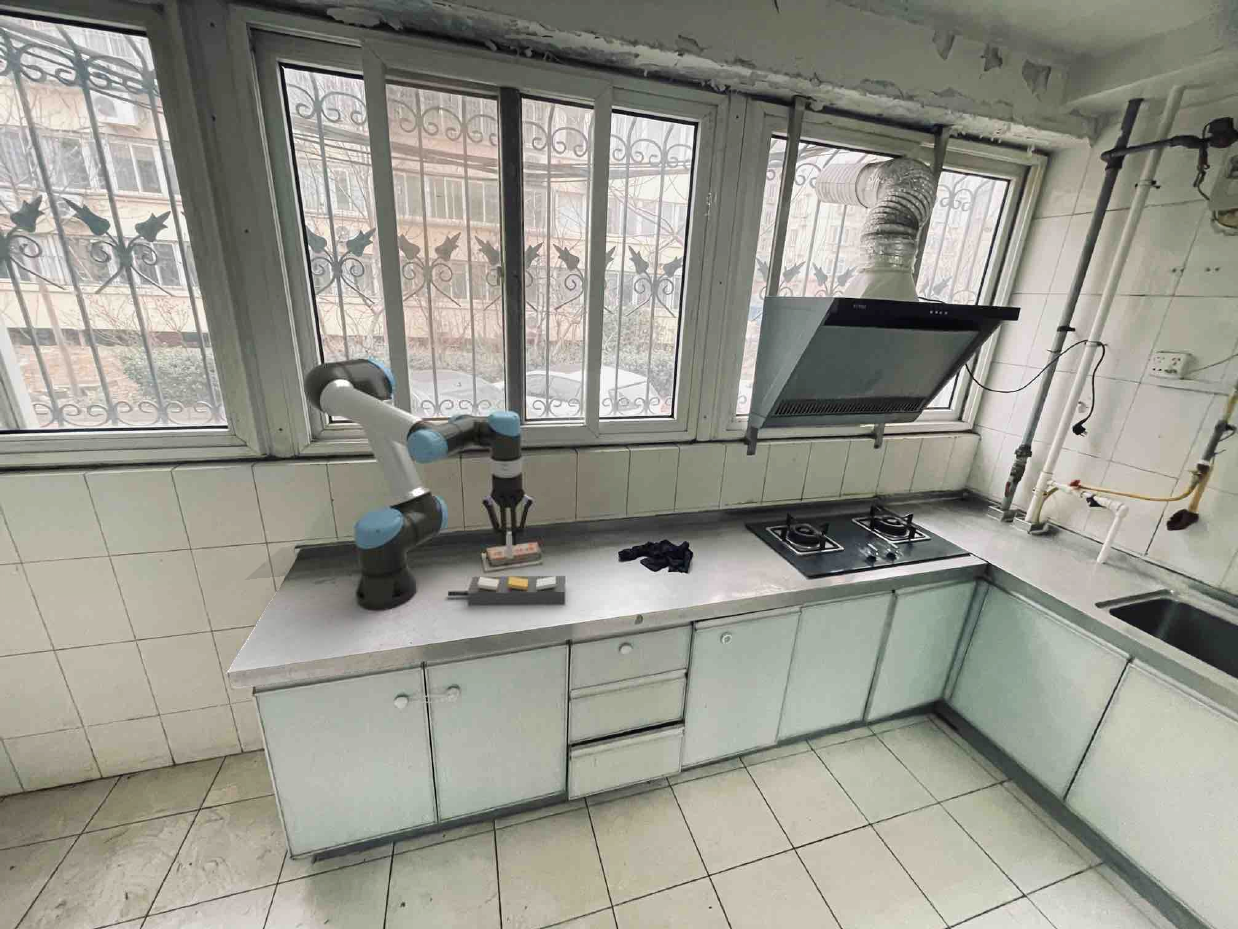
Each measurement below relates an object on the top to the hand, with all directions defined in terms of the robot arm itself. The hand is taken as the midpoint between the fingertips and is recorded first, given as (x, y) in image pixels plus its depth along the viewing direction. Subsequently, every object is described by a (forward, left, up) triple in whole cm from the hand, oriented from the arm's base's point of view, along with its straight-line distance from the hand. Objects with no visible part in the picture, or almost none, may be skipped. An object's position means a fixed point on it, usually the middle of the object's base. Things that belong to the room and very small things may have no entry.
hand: (510, 555), depth 131 cm
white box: (-6, 0, -10) cm, 11 cm away
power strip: (-1, +2, -14) cm, 14 cm away
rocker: (+10, 0, -10) cm, 14 cm away
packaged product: (-2, +21, -15) cm, 26 cm away
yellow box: (+2, 0, -10) cm, 10 cm away
